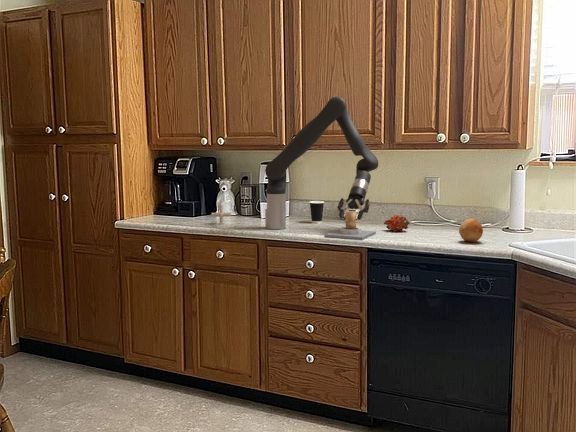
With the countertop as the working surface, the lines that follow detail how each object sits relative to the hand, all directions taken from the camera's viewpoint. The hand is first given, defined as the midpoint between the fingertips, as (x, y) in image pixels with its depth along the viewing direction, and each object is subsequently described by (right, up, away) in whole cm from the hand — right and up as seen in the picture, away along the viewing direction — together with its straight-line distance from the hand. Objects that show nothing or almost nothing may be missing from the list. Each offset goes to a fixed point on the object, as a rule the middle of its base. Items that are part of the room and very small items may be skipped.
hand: (349, 218), depth 271 cm
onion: (+50, -10, -16) cm, 53 cm away
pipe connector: (-62, -3, +41) cm, 75 cm away
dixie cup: (-13, -3, +44) cm, 46 cm away
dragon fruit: (+24, -7, +14) cm, 28 cm away
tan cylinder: (+1, -7, +2) cm, 7 cm away
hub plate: (+1, -8, +2) cm, 8 cm away
